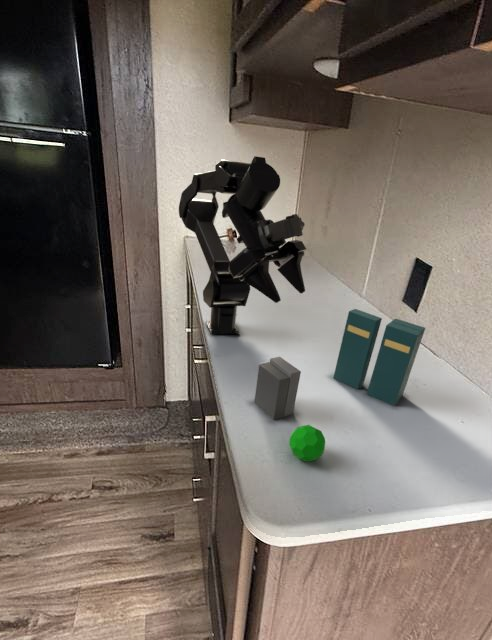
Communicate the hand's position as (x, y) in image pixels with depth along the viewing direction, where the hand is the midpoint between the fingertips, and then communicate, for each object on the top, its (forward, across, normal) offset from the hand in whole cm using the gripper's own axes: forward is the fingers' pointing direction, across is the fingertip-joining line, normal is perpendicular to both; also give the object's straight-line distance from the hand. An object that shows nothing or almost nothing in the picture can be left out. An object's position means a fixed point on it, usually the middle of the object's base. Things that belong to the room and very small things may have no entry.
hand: (291, 296), depth 75 cm
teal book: (+20, +2, 0) cm, 20 cm away
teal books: (+25, +3, -6) cm, 26 cm away
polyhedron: (+23, -23, -3) cm, 33 cm away
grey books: (+16, -16, +4) cm, 23 cm away
